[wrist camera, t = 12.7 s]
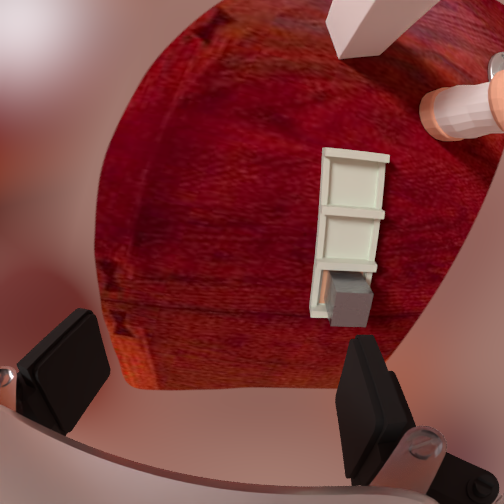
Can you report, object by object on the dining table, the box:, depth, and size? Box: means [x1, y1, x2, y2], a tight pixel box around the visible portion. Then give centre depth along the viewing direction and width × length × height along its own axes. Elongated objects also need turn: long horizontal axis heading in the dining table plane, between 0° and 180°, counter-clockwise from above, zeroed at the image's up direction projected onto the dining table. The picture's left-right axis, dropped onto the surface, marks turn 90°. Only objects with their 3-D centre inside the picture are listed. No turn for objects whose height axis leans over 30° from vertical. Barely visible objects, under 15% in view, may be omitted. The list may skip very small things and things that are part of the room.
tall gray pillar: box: [324, 270, 374, 327], centre depth 37 cm, size 4×4×7 cm
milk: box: [326, 0, 440, 59], centre depth 20 cm, size 6×6×22 cm
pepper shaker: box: [419, 70, 504, 141], centre depth 23 cm, size 7×7×19 cm
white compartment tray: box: [309, 148, 390, 318], centre depth 37 cm, size 8×22×3 cm, turn 179°
